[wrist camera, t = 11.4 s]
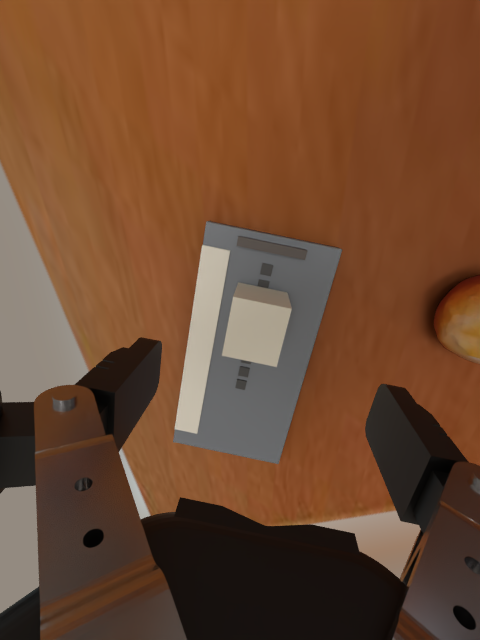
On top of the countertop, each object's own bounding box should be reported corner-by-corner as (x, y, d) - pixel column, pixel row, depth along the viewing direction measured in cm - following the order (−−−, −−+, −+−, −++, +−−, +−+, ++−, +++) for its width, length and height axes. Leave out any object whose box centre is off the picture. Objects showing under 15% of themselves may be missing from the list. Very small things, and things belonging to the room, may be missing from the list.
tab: (287, 292, 29) (291, 308, 24) (274, 342, 30) (276, 367, 26) (238, 282, 29) (233, 296, 24) (228, 332, 30) (221, 355, 26)
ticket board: (338, 247, 29) (344, 250, 27) (277, 454, 37) (278, 469, 35) (209, 221, 29) (204, 222, 27) (176, 432, 37) (171, 446, 35)
